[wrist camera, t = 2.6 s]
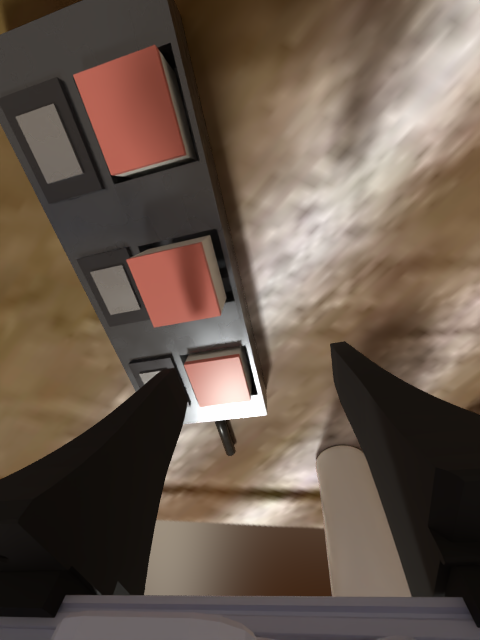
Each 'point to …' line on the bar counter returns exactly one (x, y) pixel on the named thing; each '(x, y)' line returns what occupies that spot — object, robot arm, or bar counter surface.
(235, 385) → the button
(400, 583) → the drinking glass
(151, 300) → the button
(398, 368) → the bar counter surface
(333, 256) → the bar counter surface
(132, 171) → the button
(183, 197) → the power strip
